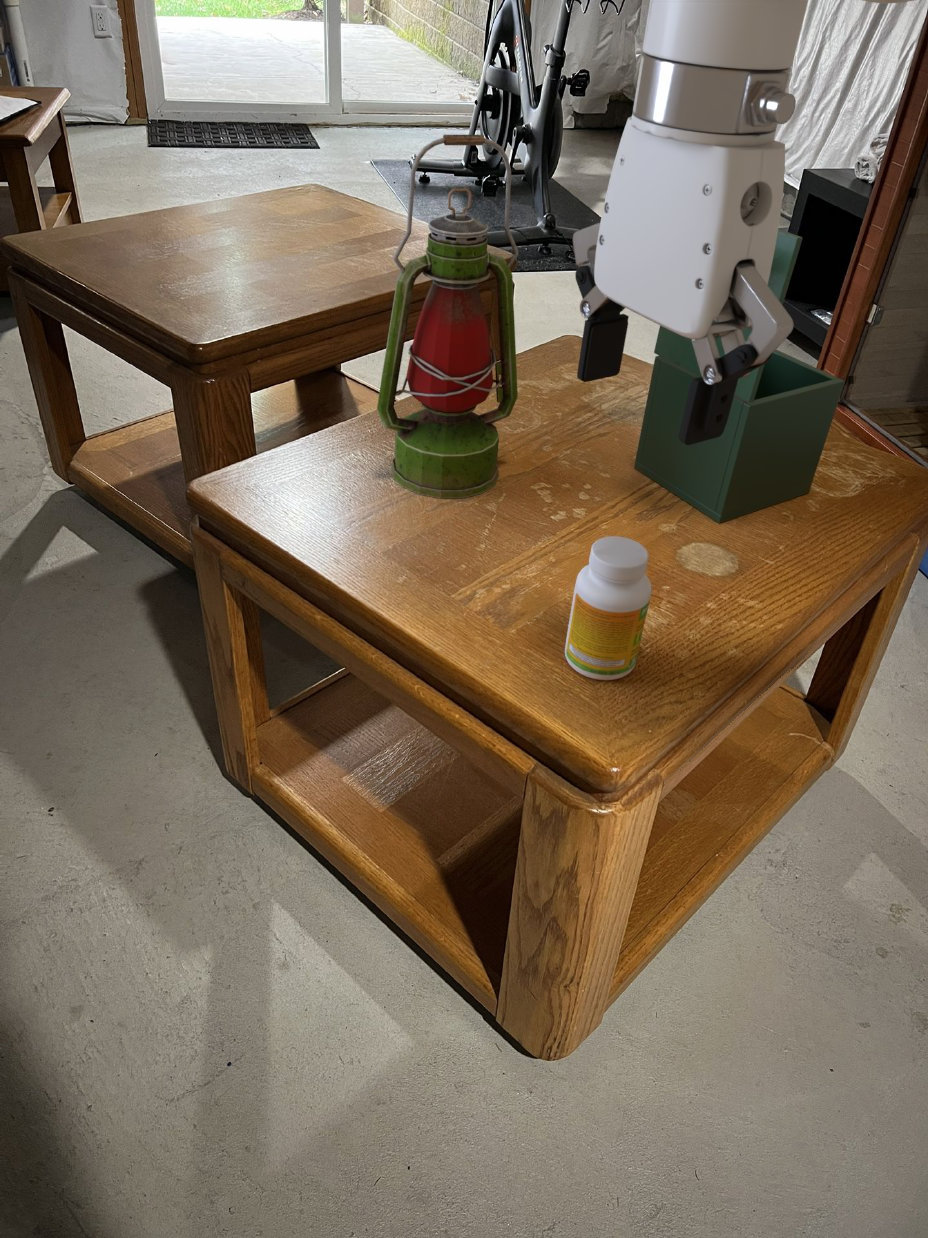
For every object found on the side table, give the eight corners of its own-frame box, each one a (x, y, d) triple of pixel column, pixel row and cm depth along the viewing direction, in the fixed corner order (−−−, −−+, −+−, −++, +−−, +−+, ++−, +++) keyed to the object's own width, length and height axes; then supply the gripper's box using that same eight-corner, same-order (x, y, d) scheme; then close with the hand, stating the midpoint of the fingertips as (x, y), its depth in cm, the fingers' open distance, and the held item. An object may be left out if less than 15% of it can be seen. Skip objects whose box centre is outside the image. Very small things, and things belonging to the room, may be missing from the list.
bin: (721, 442, 101) (748, 336, 94) (809, 492, 93) (845, 380, 86) (633, 467, 95) (655, 356, 88) (719, 523, 87) (750, 406, 80)
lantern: (492, 440, 98) (520, 121, 80) (530, 490, 90) (570, 148, 72) (363, 453, 94) (361, 120, 76) (390, 506, 86) (396, 148, 68)
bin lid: (693, 198, 80) (646, 200, 77) (803, 237, 72) (755, 240, 69) (658, 352, 88) (614, 358, 85) (753, 401, 80) (709, 410, 77)
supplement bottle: (639, 685, 68) (664, 576, 62) (565, 679, 68) (583, 570, 62) (631, 639, 72) (654, 533, 66) (562, 634, 72) (579, 527, 66)
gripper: (891, 131, 45) (791, 453, 55) (650, 71, 56) (605, 348, 66) (784, 139, 41) (698, 481, 52) (550, 73, 52) (519, 365, 63)
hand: (646, 406), depth 59 cm, fingers open, 9 cm apart
